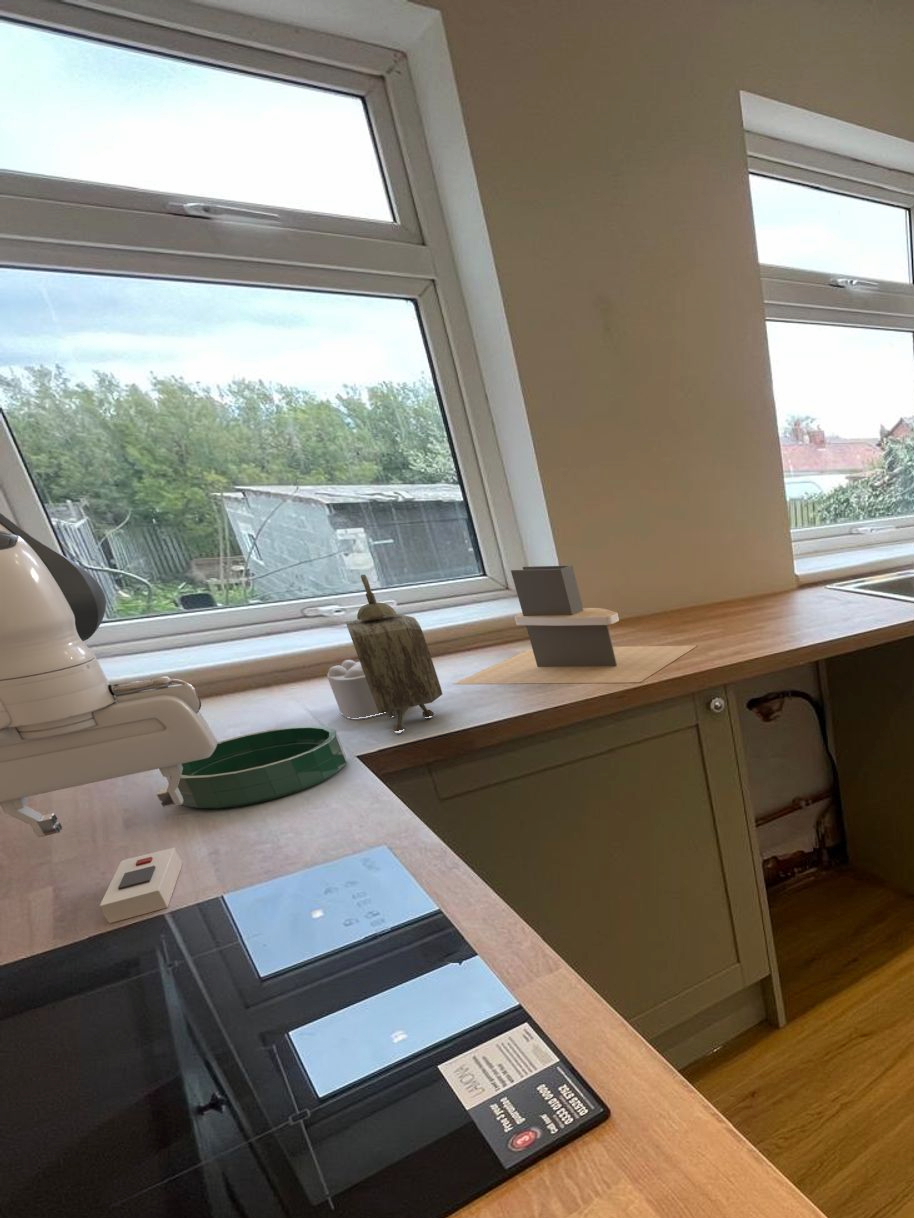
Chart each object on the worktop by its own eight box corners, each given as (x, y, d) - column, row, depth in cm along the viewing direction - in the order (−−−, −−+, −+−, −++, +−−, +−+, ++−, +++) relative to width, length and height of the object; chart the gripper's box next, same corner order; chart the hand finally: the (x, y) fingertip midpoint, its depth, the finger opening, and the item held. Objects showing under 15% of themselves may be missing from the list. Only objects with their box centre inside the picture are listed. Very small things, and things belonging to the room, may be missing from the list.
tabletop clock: (380, 717, 141) (328, 573, 131) (440, 705, 146) (395, 565, 136) (388, 740, 130) (332, 585, 120) (453, 725, 136) (405, 575, 126)
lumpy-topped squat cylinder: (351, 722, 139) (333, 674, 135) (332, 707, 147) (315, 661, 143) (421, 705, 146) (405, 659, 142) (399, 692, 154) (384, 648, 150)
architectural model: (697, 645, 177) (679, 554, 169) (639, 682, 154) (616, 578, 146) (533, 647, 181) (508, 558, 173) (452, 684, 157) (420, 582, 150)
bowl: (171, 825, 105) (154, 790, 103) (189, 780, 118) (174, 748, 116) (348, 783, 115) (336, 751, 113) (346, 746, 128) (335, 716, 127)
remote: (167, 907, 86) (157, 888, 85) (109, 923, 84) (97, 903, 83) (182, 863, 95) (173, 845, 94) (130, 876, 93) (120, 858, 92)
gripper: (190, 666, 89) (243, 780, 94) (-95, 713, 77) (-16, 839, 83) (183, 679, 84) (239, 797, 90) (-122, 731, 73) (-37, 863, 78)
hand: (114, 818), depth 86 cm, fingers open, 8 cm apart
